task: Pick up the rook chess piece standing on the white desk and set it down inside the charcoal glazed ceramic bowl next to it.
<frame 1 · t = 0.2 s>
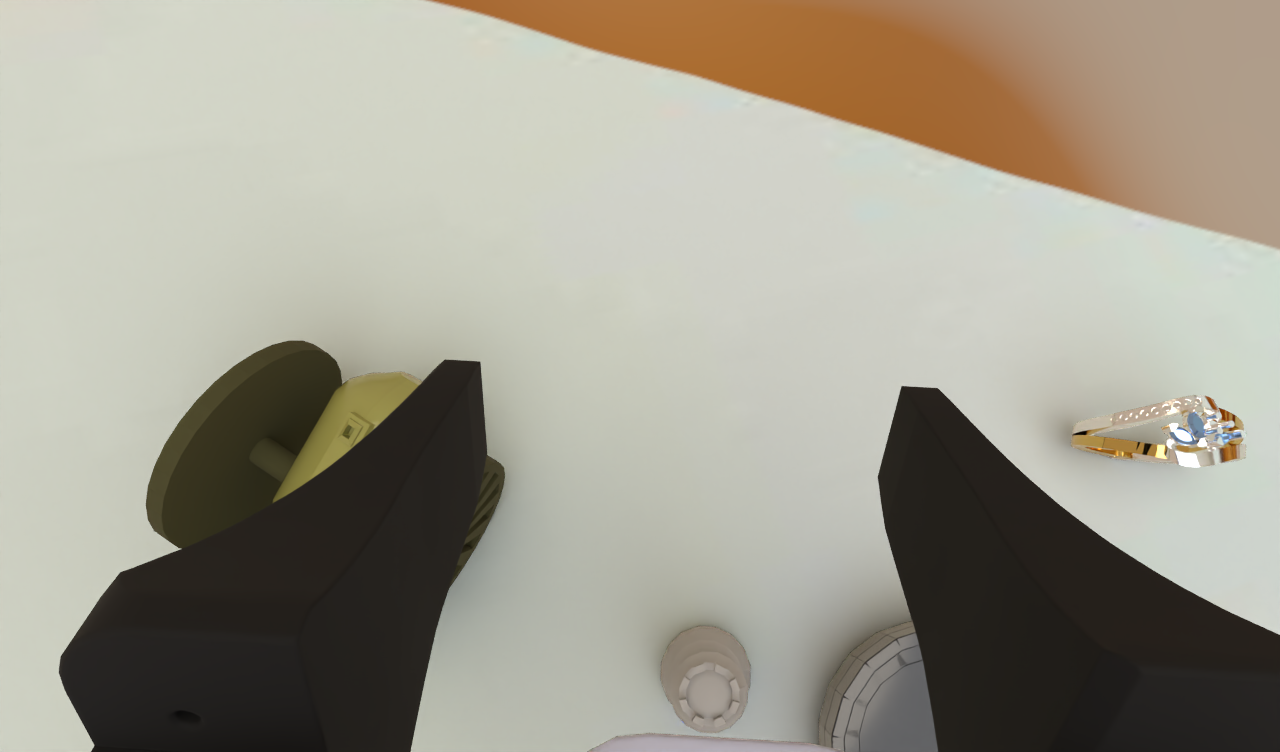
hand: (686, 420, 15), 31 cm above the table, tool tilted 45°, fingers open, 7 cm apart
ring: (1114, 451, 45), on the table
bowl: (933, 739, 43), on the table
cannon: (317, 605, 46), on the table
rook chess piece: (705, 671, 44), on the table
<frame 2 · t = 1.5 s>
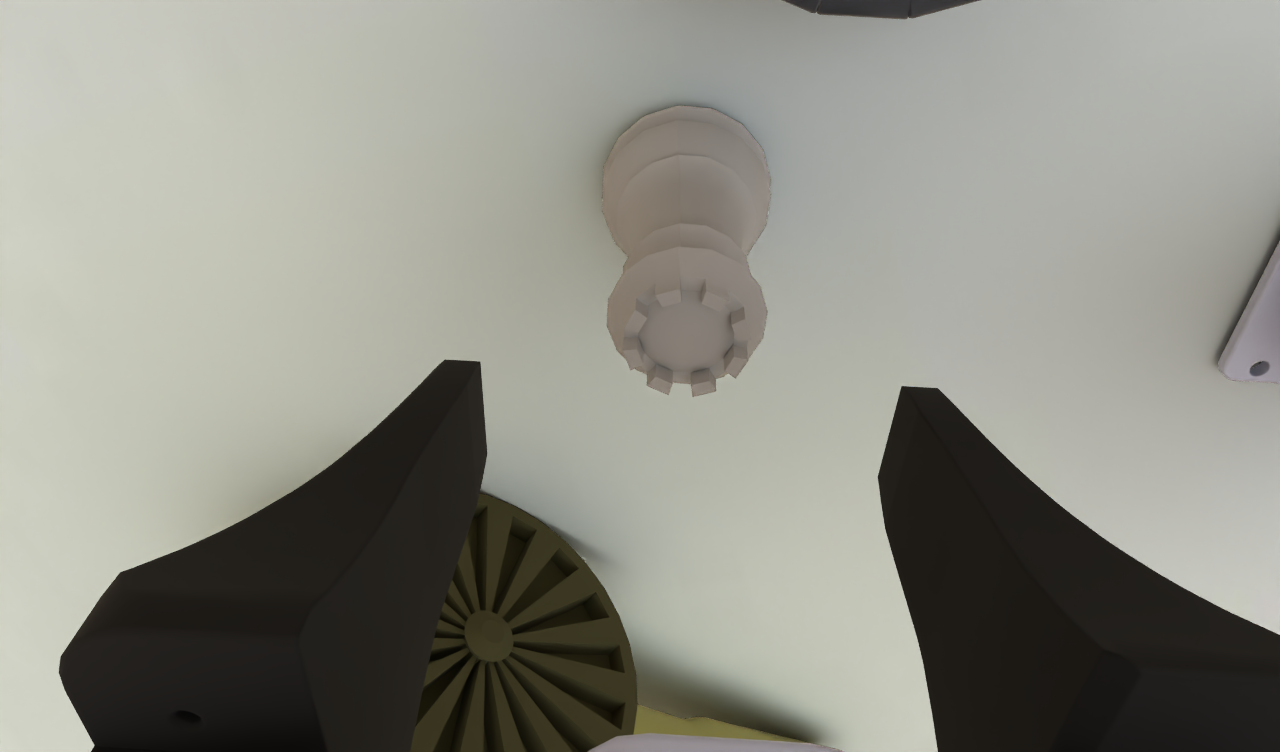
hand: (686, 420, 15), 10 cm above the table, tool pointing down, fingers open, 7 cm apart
cannon: (575, 646, 36), on the table
rook chess piece: (685, 178, 24), on the table
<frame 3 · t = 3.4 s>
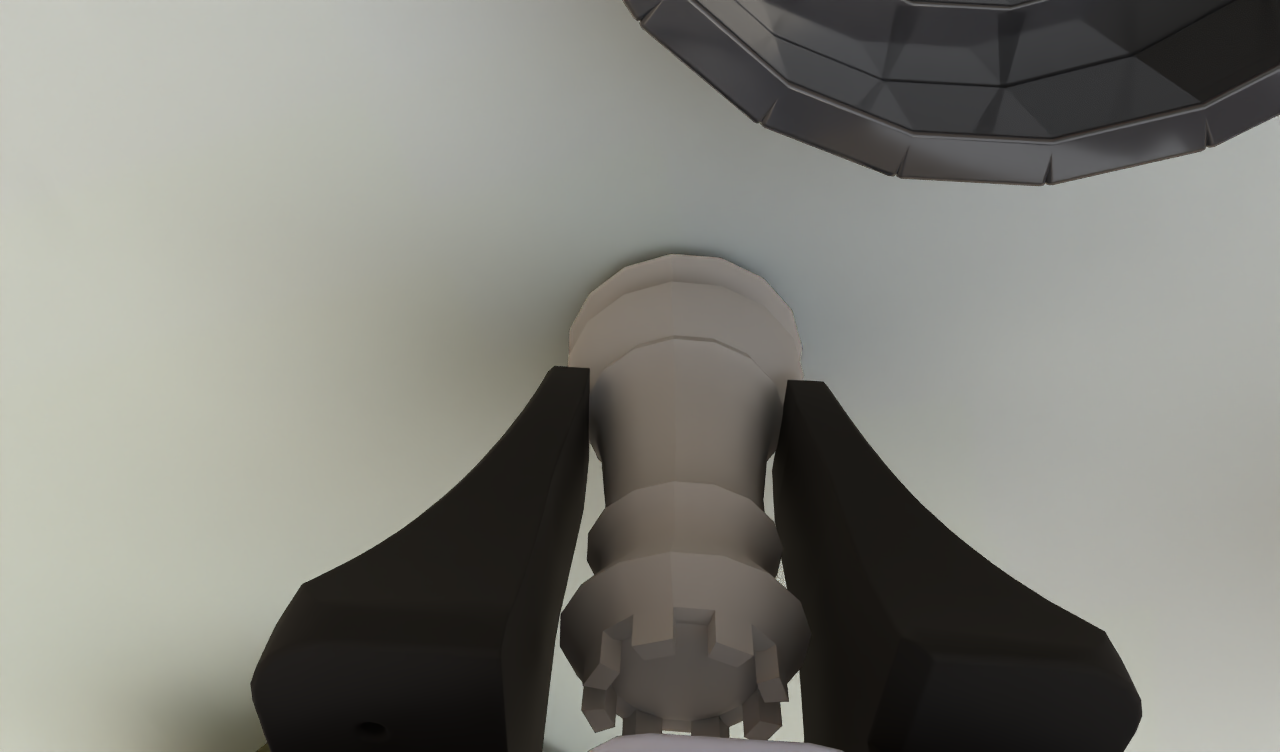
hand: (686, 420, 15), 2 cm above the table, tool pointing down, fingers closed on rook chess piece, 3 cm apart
rook chess piece: (683, 338, 17), on the table, touching gripper
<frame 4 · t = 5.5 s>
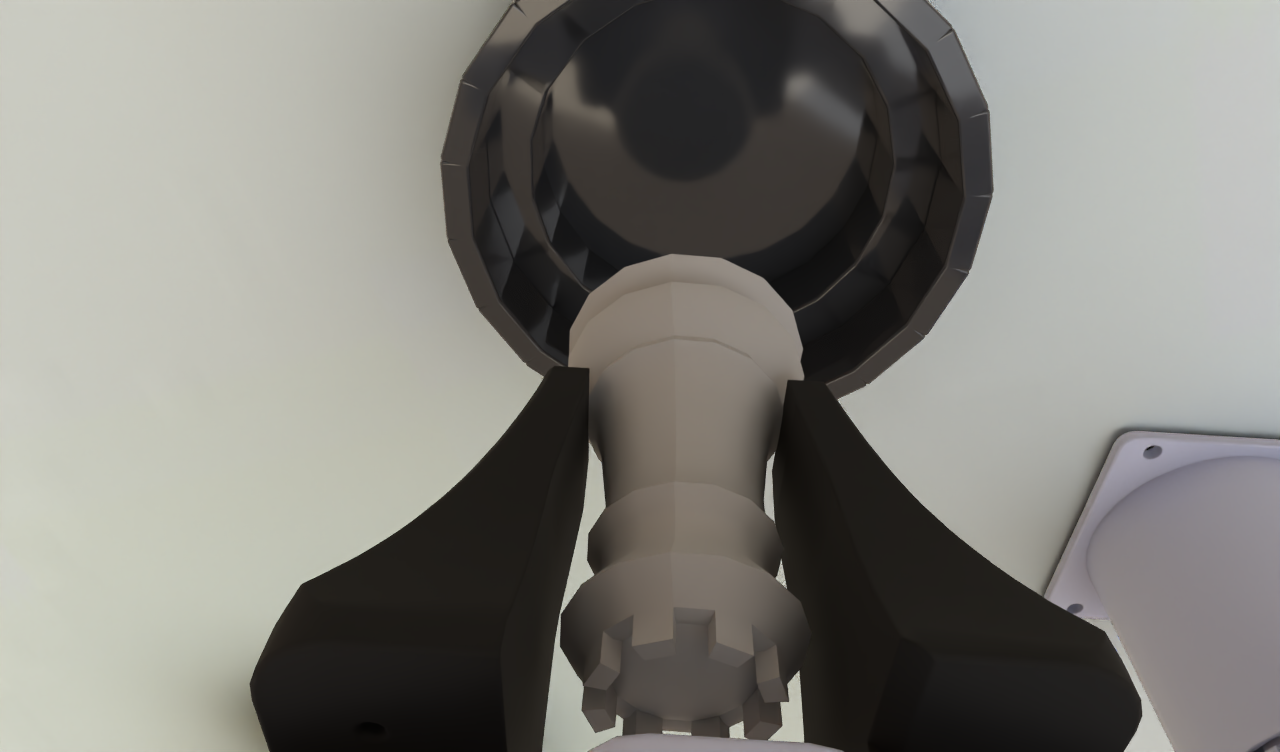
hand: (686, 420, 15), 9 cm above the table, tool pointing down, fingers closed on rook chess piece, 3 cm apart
bowl: (707, 140, 22), on the table
rook chess piece: (684, 338, 17), point 7 cm above the table, touching gripper
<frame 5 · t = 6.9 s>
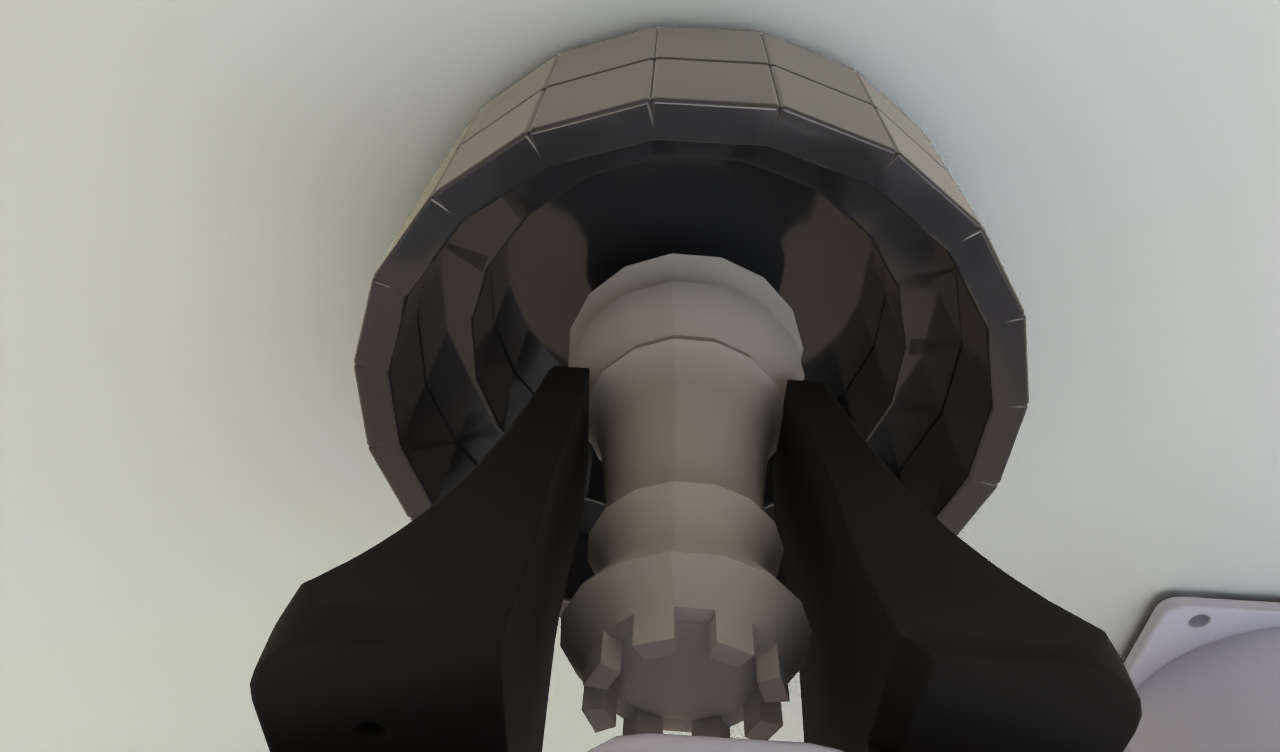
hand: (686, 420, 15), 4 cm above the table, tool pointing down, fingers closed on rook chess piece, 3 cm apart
bowl: (685, 295, 19), on the table
rook chess piece: (684, 338, 17), point 2 cm above the table, touching gripper
when the fingers open (3 cm above the table, at t = 7.6 s): rook chess piece stays where it is, resting on bowl.
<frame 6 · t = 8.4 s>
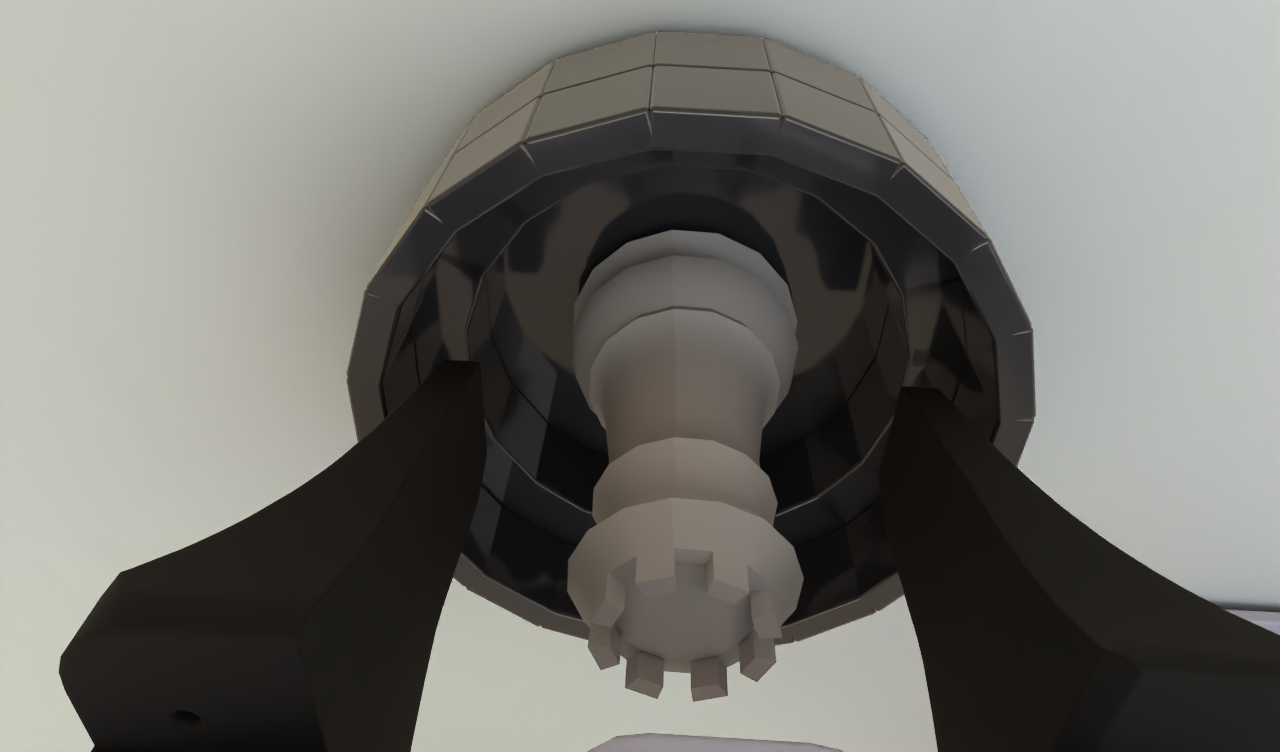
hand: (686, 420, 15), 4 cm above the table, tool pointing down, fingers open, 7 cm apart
bowl: (685, 304, 19), on the table
rook chess piece: (683, 313, 18), resting on bowl
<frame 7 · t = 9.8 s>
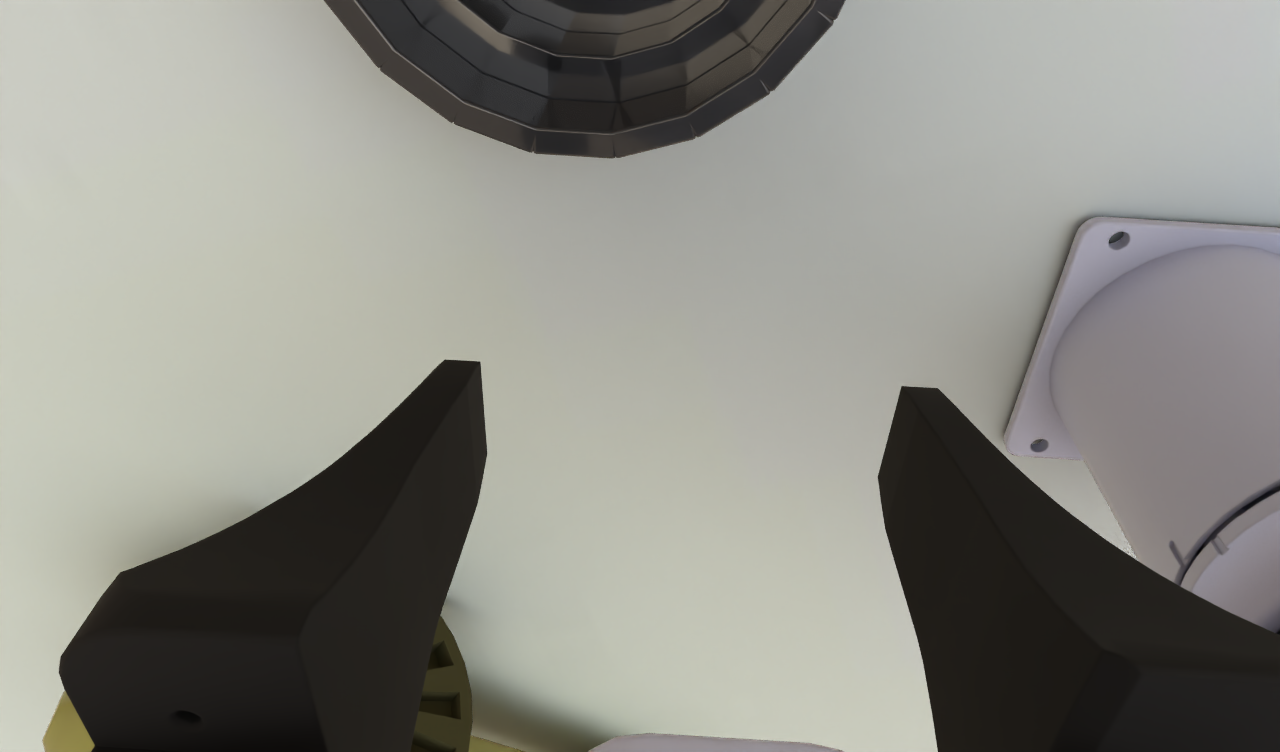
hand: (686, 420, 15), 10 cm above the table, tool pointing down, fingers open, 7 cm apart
cannon: (445, 685, 37), on the table
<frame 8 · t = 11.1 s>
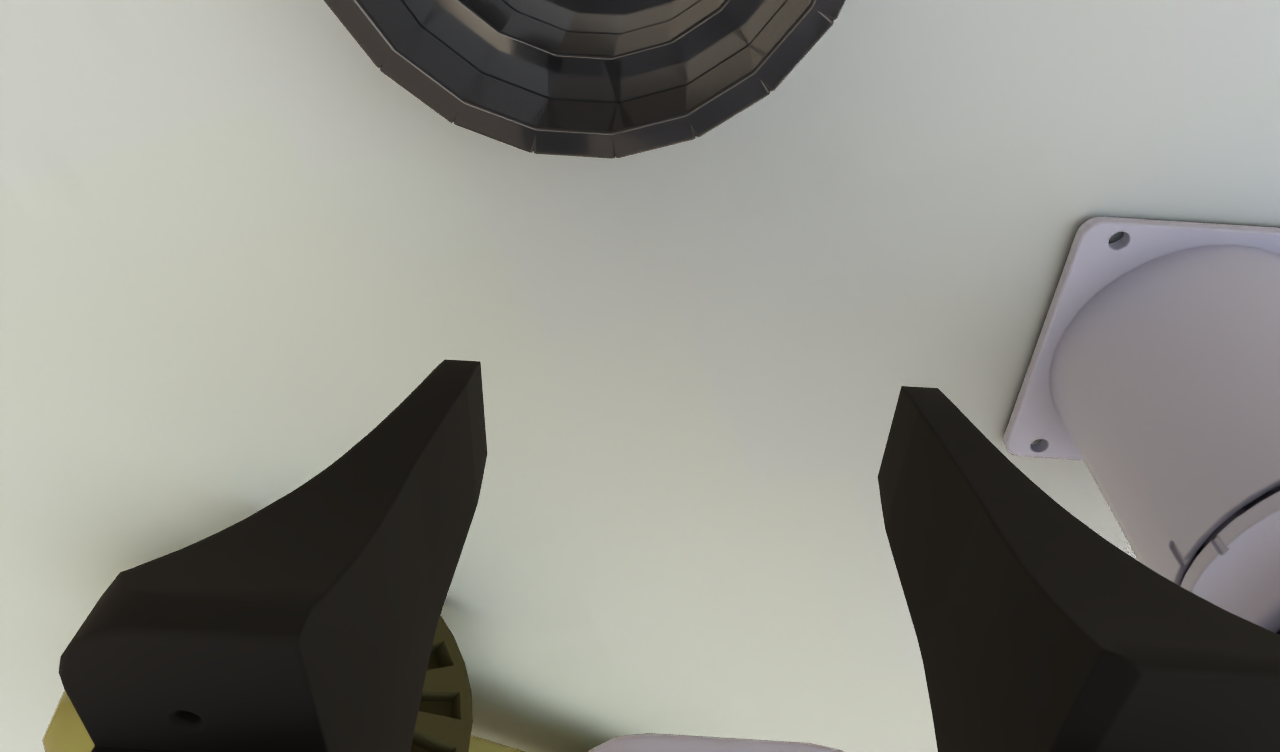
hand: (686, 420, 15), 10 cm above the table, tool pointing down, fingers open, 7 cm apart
cannon: (445, 685, 37), on the table
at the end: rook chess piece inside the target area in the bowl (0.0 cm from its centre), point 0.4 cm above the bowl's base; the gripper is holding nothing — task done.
